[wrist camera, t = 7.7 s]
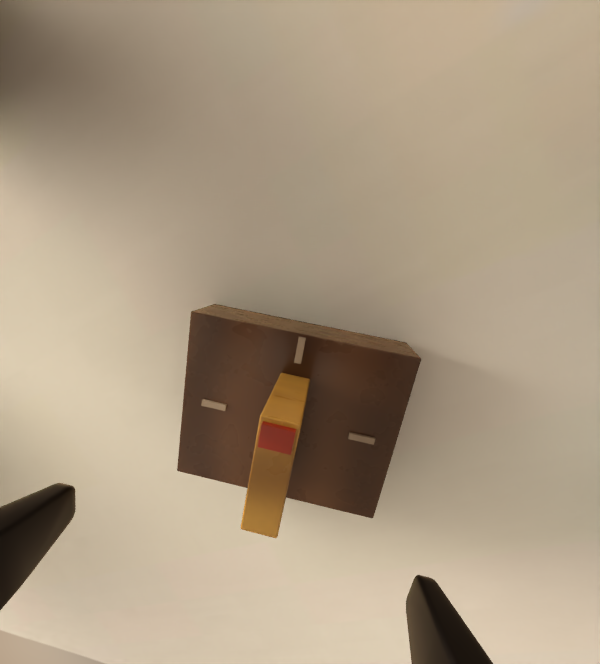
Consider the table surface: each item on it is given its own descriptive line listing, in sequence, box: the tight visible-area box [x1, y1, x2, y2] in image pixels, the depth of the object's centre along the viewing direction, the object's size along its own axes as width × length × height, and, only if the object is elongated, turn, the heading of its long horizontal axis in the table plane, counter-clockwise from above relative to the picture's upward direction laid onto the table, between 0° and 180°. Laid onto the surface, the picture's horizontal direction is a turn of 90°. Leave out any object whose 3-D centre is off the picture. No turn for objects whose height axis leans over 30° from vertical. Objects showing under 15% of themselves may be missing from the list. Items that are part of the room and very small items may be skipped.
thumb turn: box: [241, 373, 310, 538], centre depth 13 cm, size 6×2×5 cm, turn 169°
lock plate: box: [177, 304, 421, 518], centre depth 17 cm, size 12×10×3 cm
